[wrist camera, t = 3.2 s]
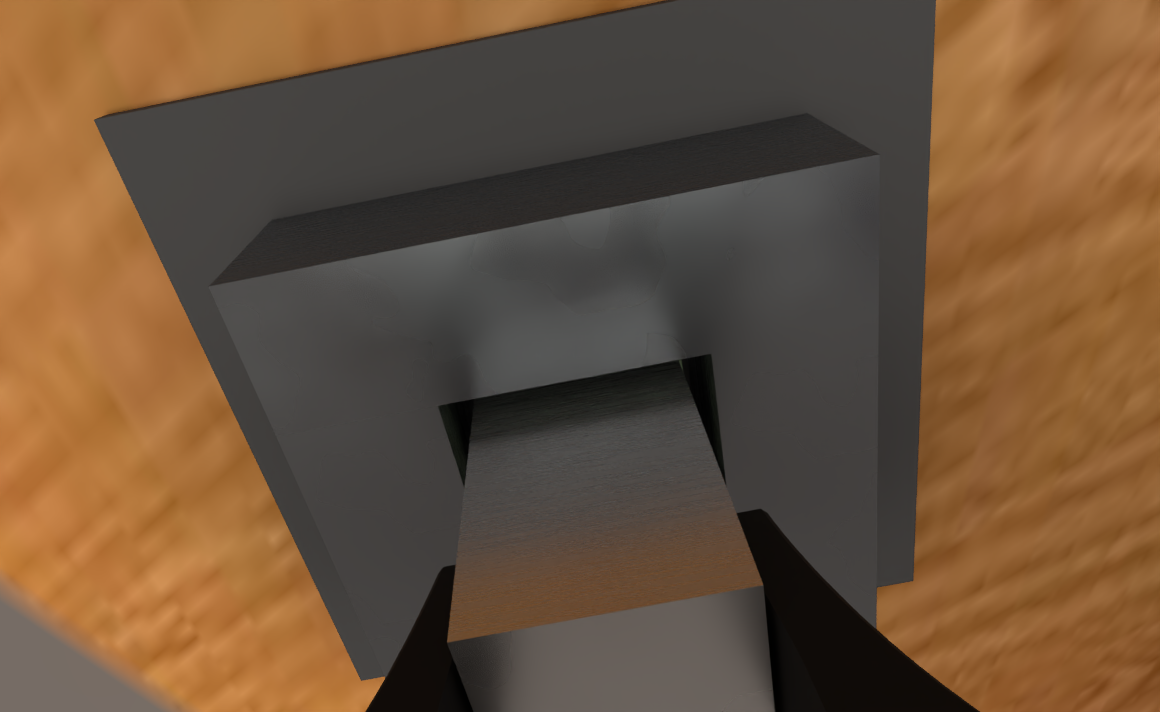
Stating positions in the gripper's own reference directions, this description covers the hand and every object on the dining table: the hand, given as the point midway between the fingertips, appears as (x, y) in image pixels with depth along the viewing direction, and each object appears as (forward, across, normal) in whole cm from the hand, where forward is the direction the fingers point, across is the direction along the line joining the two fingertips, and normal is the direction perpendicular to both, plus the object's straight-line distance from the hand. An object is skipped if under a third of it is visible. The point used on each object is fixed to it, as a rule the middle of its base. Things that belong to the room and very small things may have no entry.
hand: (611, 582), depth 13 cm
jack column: (+6, 0, 0) cm, 6 cm away
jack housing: (+6, 0, 0) cm, 6 cm away
